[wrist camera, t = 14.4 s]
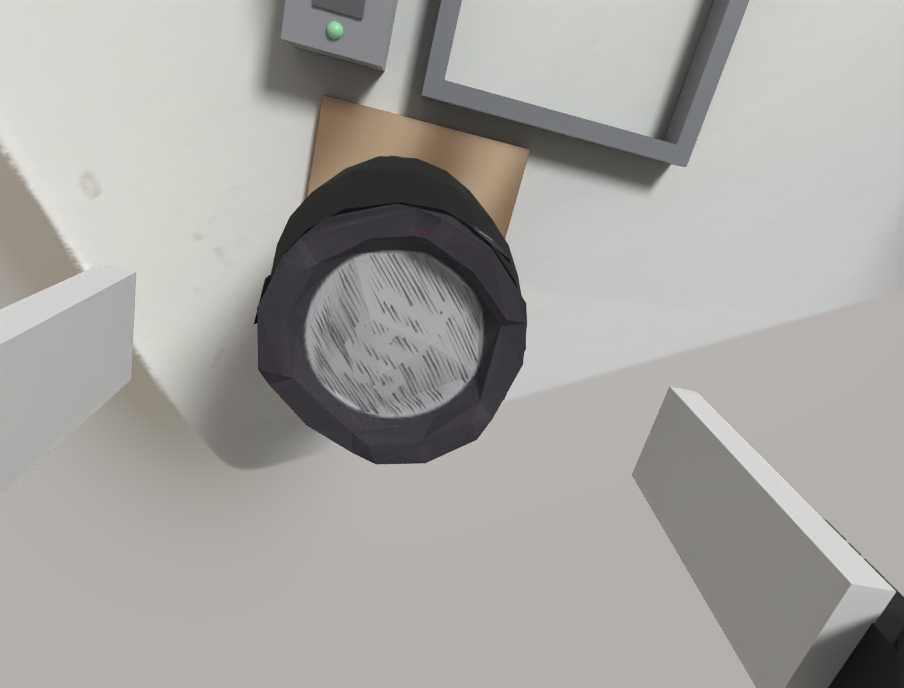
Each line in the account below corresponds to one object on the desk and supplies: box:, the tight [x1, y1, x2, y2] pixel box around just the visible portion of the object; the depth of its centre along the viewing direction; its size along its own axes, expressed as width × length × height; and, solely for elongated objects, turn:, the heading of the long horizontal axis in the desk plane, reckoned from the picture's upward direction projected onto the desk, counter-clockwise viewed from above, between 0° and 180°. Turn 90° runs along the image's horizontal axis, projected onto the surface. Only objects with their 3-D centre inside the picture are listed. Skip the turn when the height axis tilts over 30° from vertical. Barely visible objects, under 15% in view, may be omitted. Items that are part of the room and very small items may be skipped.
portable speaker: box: [254, 156, 527, 464], centre depth 25 cm, size 9×9×20 cm
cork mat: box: [307, 95, 530, 239], centre depth 34 cm, size 12×12×1 cm
